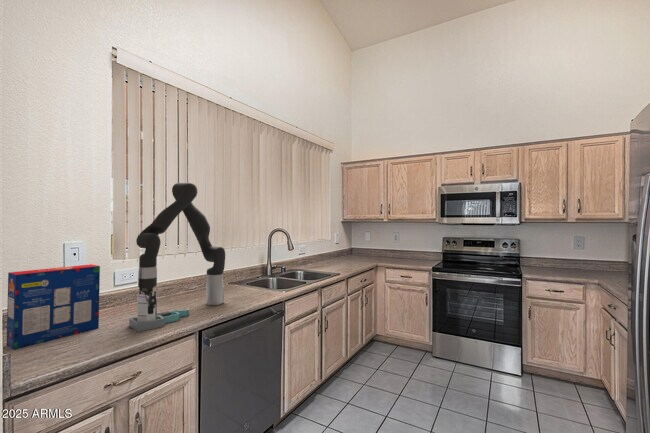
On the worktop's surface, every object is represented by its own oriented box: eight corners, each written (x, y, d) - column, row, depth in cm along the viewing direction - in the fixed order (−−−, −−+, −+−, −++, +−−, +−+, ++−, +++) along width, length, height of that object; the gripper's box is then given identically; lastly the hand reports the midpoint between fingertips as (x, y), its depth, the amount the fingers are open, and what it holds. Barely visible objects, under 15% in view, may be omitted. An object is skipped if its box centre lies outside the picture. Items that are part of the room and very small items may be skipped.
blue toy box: (89, 325, 147) (91, 264, 147) (98, 328, 143) (99, 265, 143) (6, 345, 123) (8, 272, 123) (14, 350, 119) (15, 274, 119)
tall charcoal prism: (168, 316, 163) (168, 311, 163) (170, 317, 161) (170, 312, 161) (156, 318, 159) (156, 313, 159) (159, 320, 157) (159, 314, 157)
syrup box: (147, 327, 144) (148, 295, 144) (136, 326, 145) (137, 294, 145) (156, 323, 150) (157, 292, 150) (146, 322, 151) (146, 291, 151)
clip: (175, 317, 160) (175, 311, 160) (179, 320, 157) (180, 313, 157) (158, 321, 154) (158, 315, 154) (162, 323, 151) (162, 317, 151)
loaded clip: (188, 313, 168) (188, 307, 168) (188, 315, 163) (188, 310, 163) (171, 314, 165) (171, 309, 165) (170, 317, 160) (170, 311, 160)
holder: (154, 320, 155) (155, 313, 155) (164, 326, 148) (164, 318, 148) (129, 326, 147) (129, 318, 147) (137, 332, 139) (137, 323, 140)
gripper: (162, 277, 146) (161, 313, 145) (150, 273, 155) (150, 307, 155) (144, 279, 140) (143, 317, 140) (133, 275, 150) (132, 310, 149)
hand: (147, 311), depth 147 cm, fingers open, 8 cm apart
